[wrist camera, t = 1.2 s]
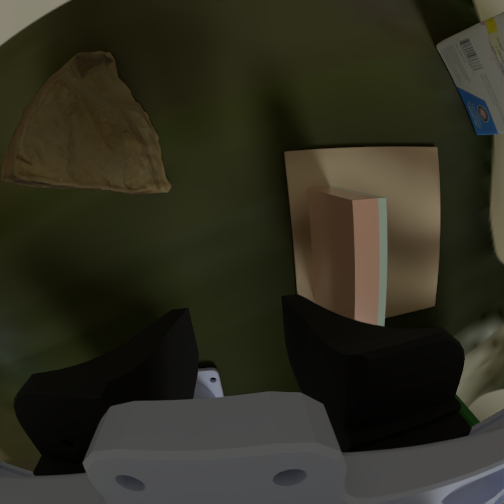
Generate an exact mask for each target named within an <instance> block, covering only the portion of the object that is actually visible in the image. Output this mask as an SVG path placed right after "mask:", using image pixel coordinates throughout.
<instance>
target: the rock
mask: <svg viewBox="0 0 504 504" xmlns="http://www.w3.org/2000/svg"><path fill="white" fill-rule="evenodd" d="M158 138H159V135H158V134H157V133H156V131H155V129H154V128H153V126H152V124H151V122H150V120H149V117H148V115H147V113H146V112H145V111H144V110H143V109H142V107H141V105H140V104H139V103H138V102H136V101H135V99H134V97H133V96H132V95H131V90H130V89H129V88H128V87H127V85H126V84H125V83H124V82H123V81H122V80H121V79H120V78H119V77H118V73H117V68H116V64H115V59H114V57H113V56H112V55H111V53H110V52H103V51H95V52H82V53H78V54H76V55H75V56H73V57H72V58H71V59H70V60H69V61H68V62H67V63H66V64H65V65H64V66H63V67H62V68H61V69H60V70H58V71H57V72H55V73H54V74H52V75H51V76H50V77H49V78H48V80H47V81H46V82H45V84H44V85H43V86H42V88H41V89H40V90H39V91H38V92H37V93H36V94H35V96H34V97H33V98H32V99H31V100H30V102H29V103H28V104H27V105H26V107H25V108H24V111H23V114H22V120H21V121H20V123H19V125H18V126H17V128H16V130H15V132H14V134H13V137H12V139H11V142H10V145H9V147H8V150H7V152H6V154H5V157H4V159H3V164H2V180H3V181H7V182H13V183H17V184H21V185H25V186H31V187H40V188H59V189H69V188H80V189H87V190H93V189H99V190H104V191H116V192H122V193H125V194H135V195H149V194H155V193H160V192H166V193H168V191H169V190H170V188H171V183H170V182H169V180H168V179H167V177H166V175H165V170H164V165H163V161H162V158H161V148H160V145H159V142H158Z"/></svg>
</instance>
